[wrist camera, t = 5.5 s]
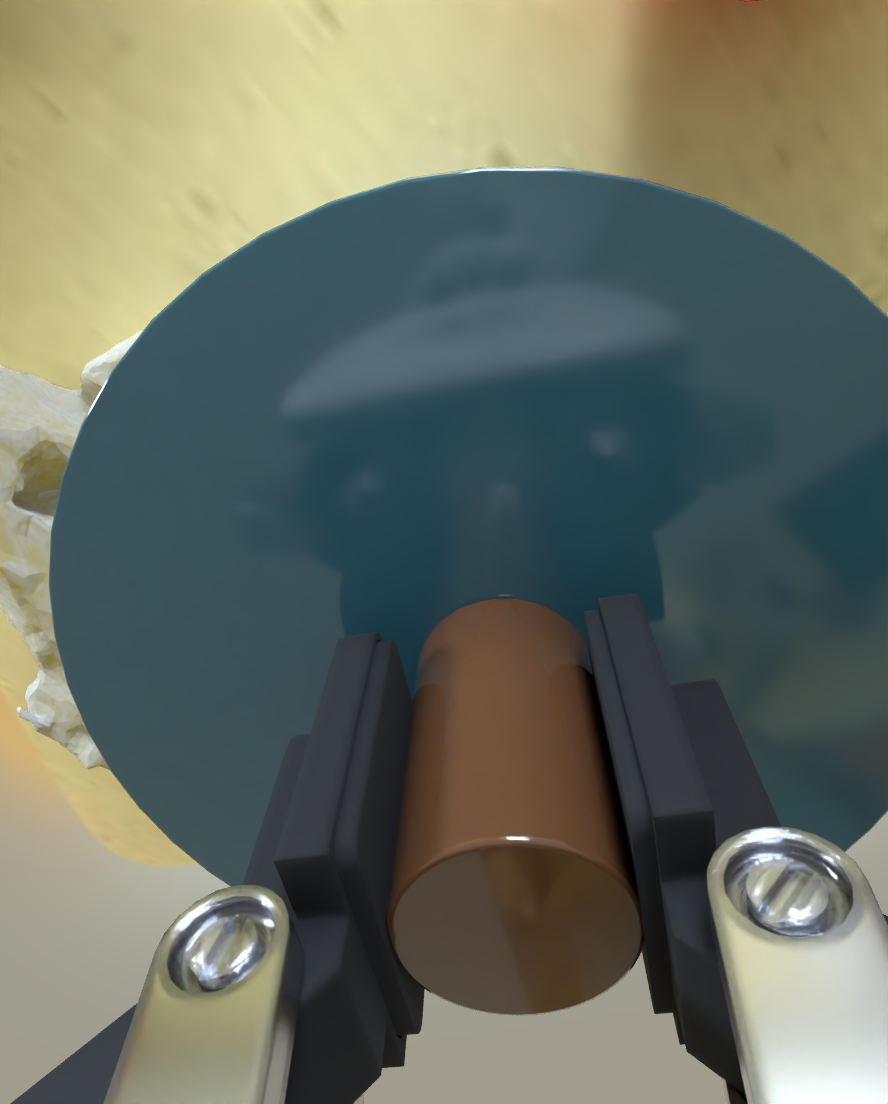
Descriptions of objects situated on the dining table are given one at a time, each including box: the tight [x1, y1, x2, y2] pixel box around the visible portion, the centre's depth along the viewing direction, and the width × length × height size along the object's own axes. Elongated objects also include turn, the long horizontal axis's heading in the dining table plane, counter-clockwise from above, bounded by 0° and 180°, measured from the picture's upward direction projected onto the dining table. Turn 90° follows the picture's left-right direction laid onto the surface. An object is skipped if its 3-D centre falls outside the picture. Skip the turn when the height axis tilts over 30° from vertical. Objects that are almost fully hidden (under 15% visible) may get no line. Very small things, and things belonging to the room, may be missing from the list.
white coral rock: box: [0, 330, 143, 770], centre depth 31 cm, size 15×7×15 cm
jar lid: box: [49, 167, 888, 1015], centre depth 10 cm, size 14×14×6 cm
